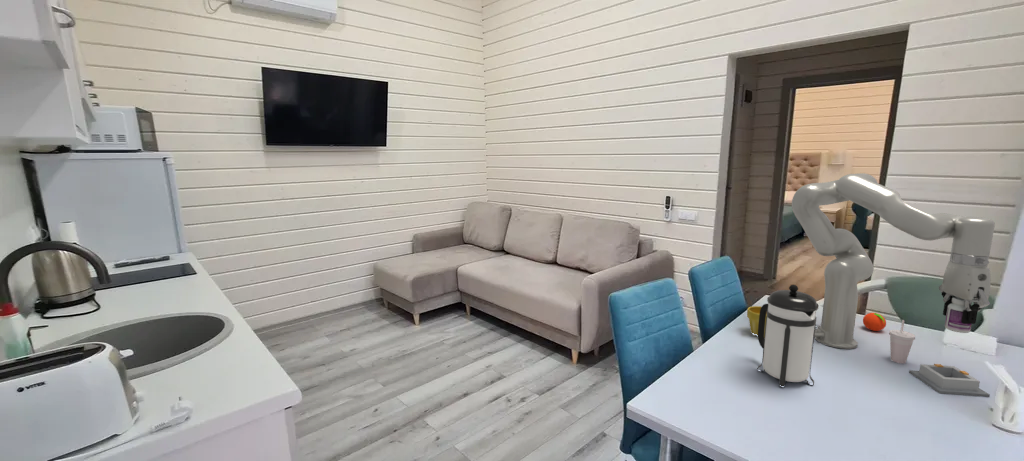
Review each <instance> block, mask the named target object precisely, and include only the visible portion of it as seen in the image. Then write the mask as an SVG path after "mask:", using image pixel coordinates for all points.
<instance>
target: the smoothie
mask: <svg viewBox="0 0 1024 461" xmlns="http://www.w3.org/2000/svg"><path fill="white" fill-rule="evenodd" d="M904 325H905V320H904V319H902V320H901V325H900V326H901V327H900V329H891V330H889V333H888V334H889V336H890V337H889V339H890V340H889V342H890V344H889V345H890V361H892V362H894V363H897V364H902V365H903V364H907V360H908V358H909V355H910V351H911V349H912V345H913V343H914V341H915V340H916V335H915V334H913V333H911V332H910V331H909V332H908V331H905V330H904V328H905V327H904Z"/></svg>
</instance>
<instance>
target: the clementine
mask: <svg viewBox="0 0 1024 461" xmlns="http://www.w3.org/2000/svg"><path fill="white" fill-rule="evenodd" d="M862 324H863V325H864V327H865V328H867V329H868V330H870V331H873V332H879V331H883V330H884V329H885V327H886V326H887V321H886V318H885V317H884V316H883V315H882V314H880V313H878V312H869V313H867V314H864V316H863V318H862Z"/></svg>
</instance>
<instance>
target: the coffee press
mask: <svg viewBox="0 0 1024 461" xmlns="http://www.w3.org/2000/svg"><path fill="white" fill-rule="evenodd" d="M766 300H767V303H764V304H763V305H761V309H760V314H759V324H758V337H757V339H758V343H759V346H760V347H761V348H762V349H763V350H762V358H761V359H762V360H761V361H762V362H761V363H760V365H758V367H756V370H757V369H760V367H762V368H763V369H764V371H763V372H765V373H767V374H768V375H770V376H771V377H774V378H776V379H777V380H779V383H778V386H779V385H781V386H784V385H785V386H786V382H792V383H799V382H805V383H806V384H808V382H809V380H807V379H808V378H809V379H810V381H811V383H813V386H814V384H815V380H814V379H813V377H812V375H811V374H810V372H811V369H812V364H811V363H813V362H812V360H813V359H812V358H813V355H812V354H813V352H814V346H813V345H815V344H814V343H815V337H814V336H813V335H815V329H816V324H817V311H818V310H819V306H820V305H819V303H818V302H817V300H816V299H815V298H814V297H813V296H811V295H810V294H808V293H805V292H802V291H799V287H798V286H797V285H796V284H791V285H790V286H789V287H788V289H780V290H776V291H772V292H771V293H770V295H769V296H768V297H767V299H766ZM766 312H767V316H766ZM765 319H766V326H765ZM764 330H765V336H764Z"/></svg>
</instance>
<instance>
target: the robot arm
mask: <svg viewBox="0 0 1024 461" xmlns="http://www.w3.org/2000/svg"><path fill="white" fill-rule="evenodd" d="M848 201H850V202H852V203H854V204H856V205H857V206H861V207H863V208H864V209H867V210H869V211H871V212H872V213H875V214H876V215H878V216H879V217H880V218H881V219H883V220H884V221H885V222H886V223H888V224H889V225H890V226H892V227H893V228H896V229H898V230H900V231H902V232H904V233H906V234H908V235H910V236H913V237H914V238H915V239H920V240H922V241H930V242H931V241H937V240H940V239H941V240H942V239H949V238H950V239H952V243H951V248H950V249H951V251H950V255H949V260H948V263H947V265H946V267H945V271H944V274H943V278H942V281H941V282H942V284H941V285H939V286H938V290H939V291H940V293H941V296H942V297H943V299H942V302H943V303H944V305H943V311H942V315H943V316H945V317H946V314H947V307H948V305H949V304H951V303H952V298H953V297H958V298H961V299H964V300H965V308H966V310H963V314H962V320H961V322H962V323H964V324H972V325H975V324H976V322H977V318H978V312H980V311H981V310H982V309H985V307H988V306H989V305H990V304H991V303H990V301H989V298H990V294H991V284H992V283H991V280H992V278H991V275H992V274H991V269H990V267H988V265H989V263H990V256H991V255H990V253H991V248H992V242H993V237H994V232H995V226H996V224H995V221H994V220H993V219H992V218H988V217H981V216H962V215H957V214H953V213H952V214H950V213H943V212H941V213H940V212H939V213H933V214H929V213H926V212H925V211H923V210H920V209H917V208H915V207H913V206H911V205H909V204H908V203H907V202H905V201H904V200H902V198H901V195H900V193H899V192H898V191H896V190H894V189H893V188H889V187H887V186H885V185H883V184H881V183H878V181H877V179H876V178H875V177H874V176H873V175H871V174H869V173H865V172H863V173H861V172H860V173H849V174H846V175H843V176H841V177H840V178H839V179H835V180H832V181H831V180H830V181H826V182H812V183H808V184H805V185H802V186H800V188H798V189H797V190H796V191H795V193H794V194H793V196H792V199H791V209H792V212H793V214H794V216H795V218H796V219H797V221H798V223H799V224H800V225H801V227H802V229H803V231H804V232H805V234H806V236H807V237H808V239H809V241H810V243H811V245H812V246H813V248H814V249H815V252H816V253H818V254H819V255H821V256H823V257H835V259H832V260H831V261H829V262H828V263H827V264H826V266H825V268H824V273H823V275H824V297H823V306H822V313H821V323H820V325H819V326H817V328H814V329H815V335H813V337H814V340H816V341H817V342H819V343H820V344H822V345H825V346H828V347H832V348H835V349H836V348H837V349H844V350H852V349H856V348H857V347H858V345H859V343H858V341H857V340H856V339H855V338H854V332H855V326H856V325H855V324H856V319H857V318H856V317H857V308H858V301H859V291H858V282H861V281H865V280H867V279H869V278H870V277H871V276H872V275H873V273H874V264H873V262H872V260H871V258H870V257H869V255H868V253H867V252H866V250H865V248H864V246H862V244H861V242H860V241H859V239H858V237H857V236H856V235H855V234H854V233H853V232H851V231H850V230H848V229H845V228H836V227H835V226H834V225H833V223H832V222H831V220H830V219H829V217H828V216H827V215H826V213H825V212H824V211H822V210H821V208H820V206H827V205H833V204H834V205H835V204H838V203H843V202H848ZM971 302H972V304H971Z"/></svg>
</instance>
